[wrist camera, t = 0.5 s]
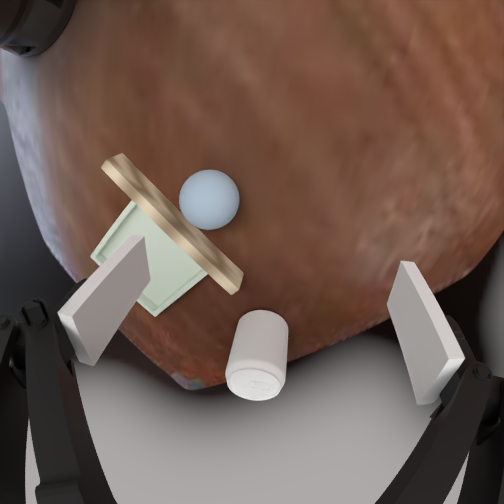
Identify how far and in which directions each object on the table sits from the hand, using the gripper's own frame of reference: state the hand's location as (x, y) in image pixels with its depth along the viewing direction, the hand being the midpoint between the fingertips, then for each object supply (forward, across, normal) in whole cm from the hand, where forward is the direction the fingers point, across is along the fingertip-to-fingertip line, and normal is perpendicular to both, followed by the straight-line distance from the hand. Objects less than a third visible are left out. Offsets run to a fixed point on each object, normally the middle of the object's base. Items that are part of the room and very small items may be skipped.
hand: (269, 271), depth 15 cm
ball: (+23, -8, -4) cm, 25 cm away
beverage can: (+23, -1, -25) cm, 34 cm away
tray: (+23, -19, -14) cm, 33 cm away
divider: (+23, -14, -8) cm, 28 cm away
